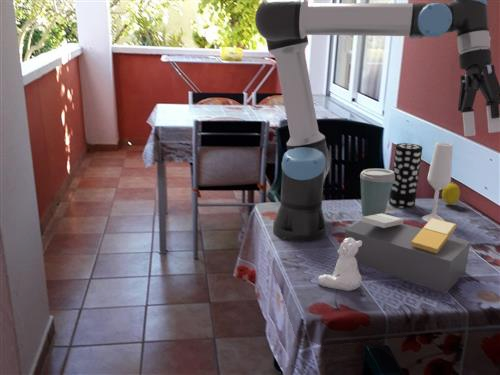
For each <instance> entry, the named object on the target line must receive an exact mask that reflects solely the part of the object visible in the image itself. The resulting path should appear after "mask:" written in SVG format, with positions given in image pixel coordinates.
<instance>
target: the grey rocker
mask: <svg viewBox="0 0 500 375" xmlns="http://www.w3.org/2000/svg"><path fill="white" fill-rule="evenodd" d="M404 219H405V218H401V217H397V216H393V215H389V214H385V213H384V214H383V213H382V214H375V215H370V216H364V217H363V216H362V217H361V219H360V221H361V222H365V223H368V224H372V225H375V226H379V227H382V228H386V227H391V226H396V225H400V224H404Z"/></svg>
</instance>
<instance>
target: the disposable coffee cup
mask: <svg viewBox="0 0 500 375" xmlns="http://www.w3.org/2000/svg"><path fill="white" fill-rule="evenodd" d="M359 177H360V199H361V200H360V202H361V203H360V204H361V214H362V217H364V216H370V215H375V214H382V213H383V214H385V213H386V209H387V206H388V204H389V198H390V192H391V189H392V185H393V182H394V181H395V175H394V171H393V169H386V168H367V169H363V170H362V171H361V172H360V174H359Z"/></svg>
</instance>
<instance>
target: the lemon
mask: <svg viewBox="0 0 500 375" xmlns="http://www.w3.org/2000/svg"><path fill="white" fill-rule="evenodd" d="M460 196H461V190H460V187H459V185H457V183H455V182H453V181H451V182H450V183H449V184H448V185H447V186H446V187H444V188H443V189H442V192H441V198H442V201H444V203H446V204H447V205H448V206H451V205H452V204H455V203H457V202H458V201H459V199H460Z"/></svg>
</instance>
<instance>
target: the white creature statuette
mask: <svg viewBox="0 0 500 375" xmlns="http://www.w3.org/2000/svg"><path fill="white" fill-rule="evenodd" d="M361 246H362V241H355V240H354V239H353V238H351V237H349V238H345V237H344V239H343V241H342V242H341V243H340V245H339V248H338V249H337V253H338V255H339V256H338V259H337V260H336V264H335V267H334V271H333V272H332V274H329V273H328V274H325V273H324V274H321V275H319V276H318V278H317V284H318V285H319V286H322V287H323V288H325V287H326V288H329V289H335V290H341V291H344V292H352V291H354V290H356V289H358V288H359V287H360V286H361V283H362V280H363V278H362V274H360V270H359V267H358V265H359V264H357V260H356V258H355V257H354V256H355V255H356V254H357V252H358V247H361Z"/></svg>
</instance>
